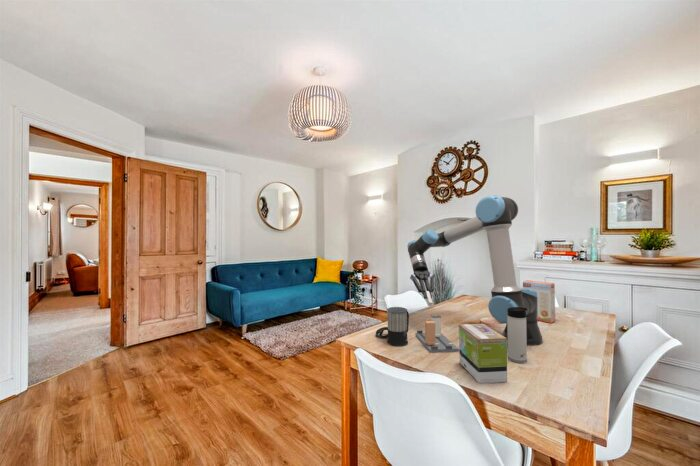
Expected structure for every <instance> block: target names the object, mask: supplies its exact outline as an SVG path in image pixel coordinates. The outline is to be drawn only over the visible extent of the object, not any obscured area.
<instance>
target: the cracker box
mask: <svg viewBox="0 0 700 466" xmlns="http://www.w3.org/2000/svg"><path fill="white" fill-rule="evenodd" d="M555 284H556V283H554V282H546V281H545V282H544V281H536V280H523V281H522V288H524V289H531V290H535V291H536V292H537V297H538V299H537V312H538V319H537V321H539V322H543V323H548V324H553V323H554V322H556V296H555V295H556V291H555V290H556V289H555V288H556V287H555Z"/></svg>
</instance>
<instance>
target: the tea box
mask: <svg viewBox="0 0 700 466" xmlns="http://www.w3.org/2000/svg"><path fill="white" fill-rule="evenodd" d="M458 343H459V347H458V348H459V352H458V354H459V357H458V358H459V364H460V365H461V366H462V367H464V368H465V370H466V371H467V372H468V373H469V375H471V376H472V377H473V378H474V379H475V380H476V382H477V383H478V384H487V383H488V384H490V383H493V384H494V383H507V382H508V340H507V338H506V337H504V335H503V334H501V333H499V332H498V331H496V330H495V329H494V328H493V329H492V328H491V327H490V326H488V325H486V324H484V323H470V324H469V323H468V324H467V323H466V324H465V323H464V324H459V325H458Z"/></svg>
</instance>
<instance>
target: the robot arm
mask: <svg viewBox="0 0 700 466" xmlns="http://www.w3.org/2000/svg"><path fill="white" fill-rule="evenodd" d="M518 214H519V206H518V204H517V202H516V201H515V200H514V199H512V198H509V197H506V196H505V197H504V196H498V195H487V196H483V198H481V199H480V200H479V201H478V203H477V204H476V207H475V216H474V217H472V218H470V219H467V220H465V221H463V222H461V223H459V224H456V225H454V226H452V227H450V228H447V229H445V230H444V231H441V232H439V233H437V232H436V231H435V230H433V229H428V230H426V231H424V232H423V234H422V235H421V236H419V238H418V239H417V240H416V239H414V240H411V241H409V242H408V243H407V251H408V255H409V256H408V257H409V259H410V263H411V267H412V271H413V274H410V277H409V278H410V280H411V282H413V284H414V286H415V288H416V290H417V291H418V293H421V294H422V295H423V298H424V300H426V304H427V306H428V307H429V306H430V307H431V306H432V304H433V301H432V299H433V294H432V293H433V292H434V290H435V276H436V275H435V274H434V273H433V274H431V272H430V271H429V269H428V265H427V262H426V258H425V256H424V255H425V252H427V251H428V250H429V249H430V248H440V247H442V248H445V247H448V246H450V245H451V244H453V243H454V242H457V241H459V240H462V239H464V238H467V237H469V236H472V235H474V234H476V233H479V232H481V231H483V230H484V231H485V232H486V236H487V243H488V251H489V259H490V265H491V272H492V279H493V285H494V286H493V287H492V288H491V289H490V293H491V298H490V300H489V302H488V311H489V313H490V315H491V317H493V318H494V319H495V320H496V321H497V322H499V323H502V324H505V326H504V330H503V336H504V337H506V338H507V341H508V332H507V317H508V316H507V315H508V312H507V309H508V308H511V307H522V308H527V311H526V338H527V346H539V345H541V344H543V335H542V333H541V332H542V331H541V330H540V327H539V324H538V320H537V319H538V312H537V299H538V297H537V292H536V291H535V290H531V289H524V288H523V287H520V286H518V285H517V277H516V273H515V272H516V271H515V264H514V259H513V250H512V243H511V238H510V230H509V229H511V227H512V225H513V224H512V223H513V220H515V218H517V216H518ZM429 279H430V280H429Z"/></svg>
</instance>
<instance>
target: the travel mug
mask: <svg viewBox="0 0 700 466" xmlns="http://www.w3.org/2000/svg"><path fill="white" fill-rule="evenodd" d="M526 311H527V308H522V307H511V308H508V309H507V312H508V315H507V316H508V317H507V332H508V340H507V360H508V361H510V362H513V363H516V364H526V363H527V362H528V358H527V356H528V355H527V353H528V351H527V350H528V349H527V348H528V347H527V346H528V345H527V338H526Z"/></svg>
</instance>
